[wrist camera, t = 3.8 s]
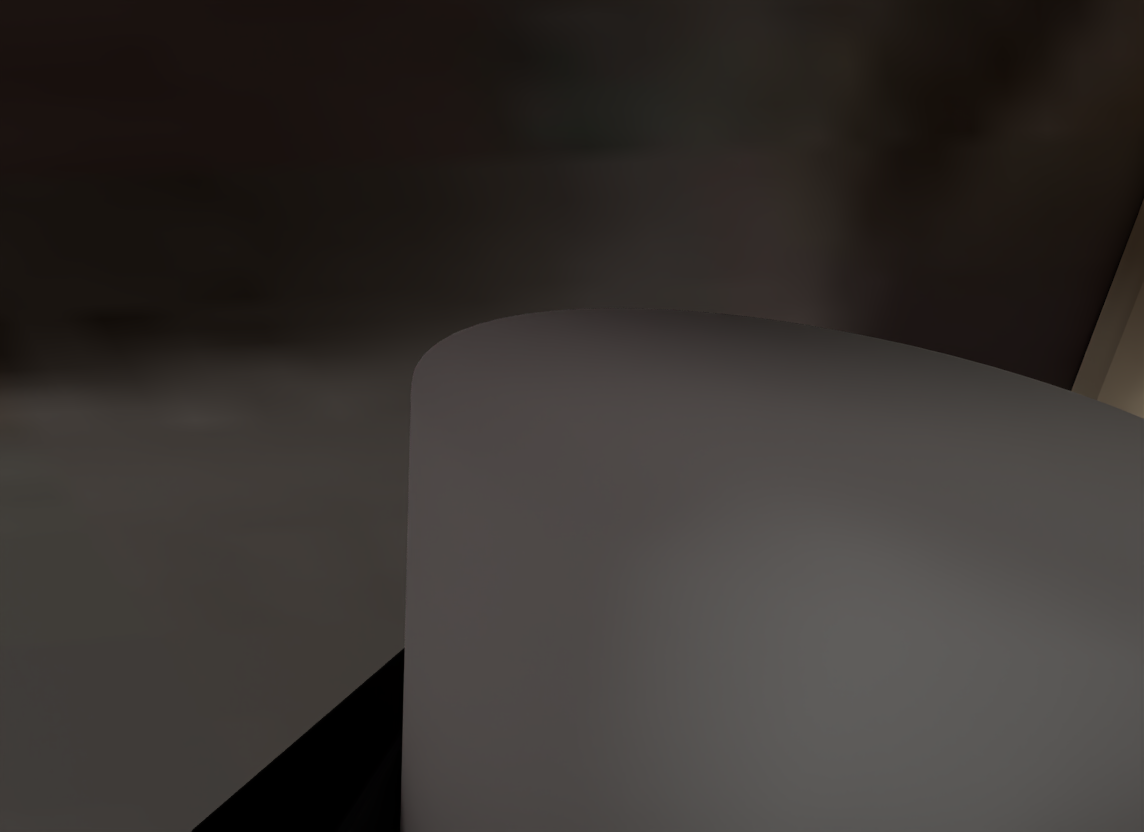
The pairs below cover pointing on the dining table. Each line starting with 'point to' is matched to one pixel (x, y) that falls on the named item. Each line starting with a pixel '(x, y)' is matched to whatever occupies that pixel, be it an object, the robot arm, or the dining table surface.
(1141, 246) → the roll holder
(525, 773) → the roll
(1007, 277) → the dining table surface
